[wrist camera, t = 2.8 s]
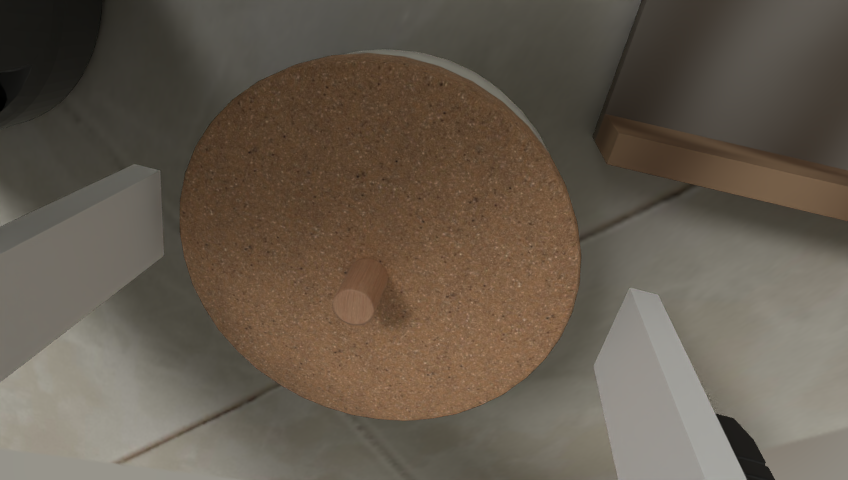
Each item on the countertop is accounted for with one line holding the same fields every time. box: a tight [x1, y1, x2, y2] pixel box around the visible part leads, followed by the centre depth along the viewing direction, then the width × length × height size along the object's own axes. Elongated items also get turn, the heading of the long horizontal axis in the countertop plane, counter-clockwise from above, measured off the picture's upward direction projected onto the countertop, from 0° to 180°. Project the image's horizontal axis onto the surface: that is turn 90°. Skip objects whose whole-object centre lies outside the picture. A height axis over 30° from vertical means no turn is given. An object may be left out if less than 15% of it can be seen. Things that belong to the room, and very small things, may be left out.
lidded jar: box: [180, 49, 581, 421], centre depth 16 cm, size 11×11×9 cm
